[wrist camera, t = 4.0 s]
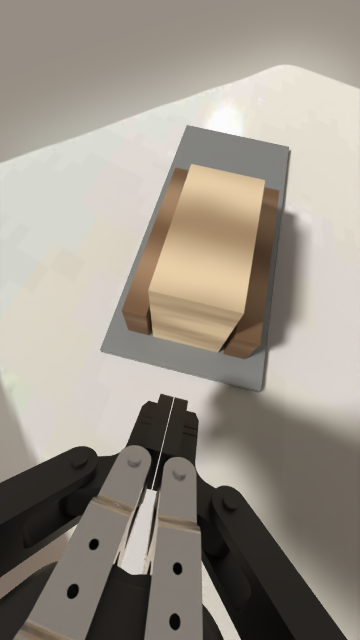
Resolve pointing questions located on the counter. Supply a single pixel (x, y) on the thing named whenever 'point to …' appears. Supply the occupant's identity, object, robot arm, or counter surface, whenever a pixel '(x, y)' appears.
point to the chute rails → (251, 322)
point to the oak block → (206, 259)
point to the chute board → (270, 167)
